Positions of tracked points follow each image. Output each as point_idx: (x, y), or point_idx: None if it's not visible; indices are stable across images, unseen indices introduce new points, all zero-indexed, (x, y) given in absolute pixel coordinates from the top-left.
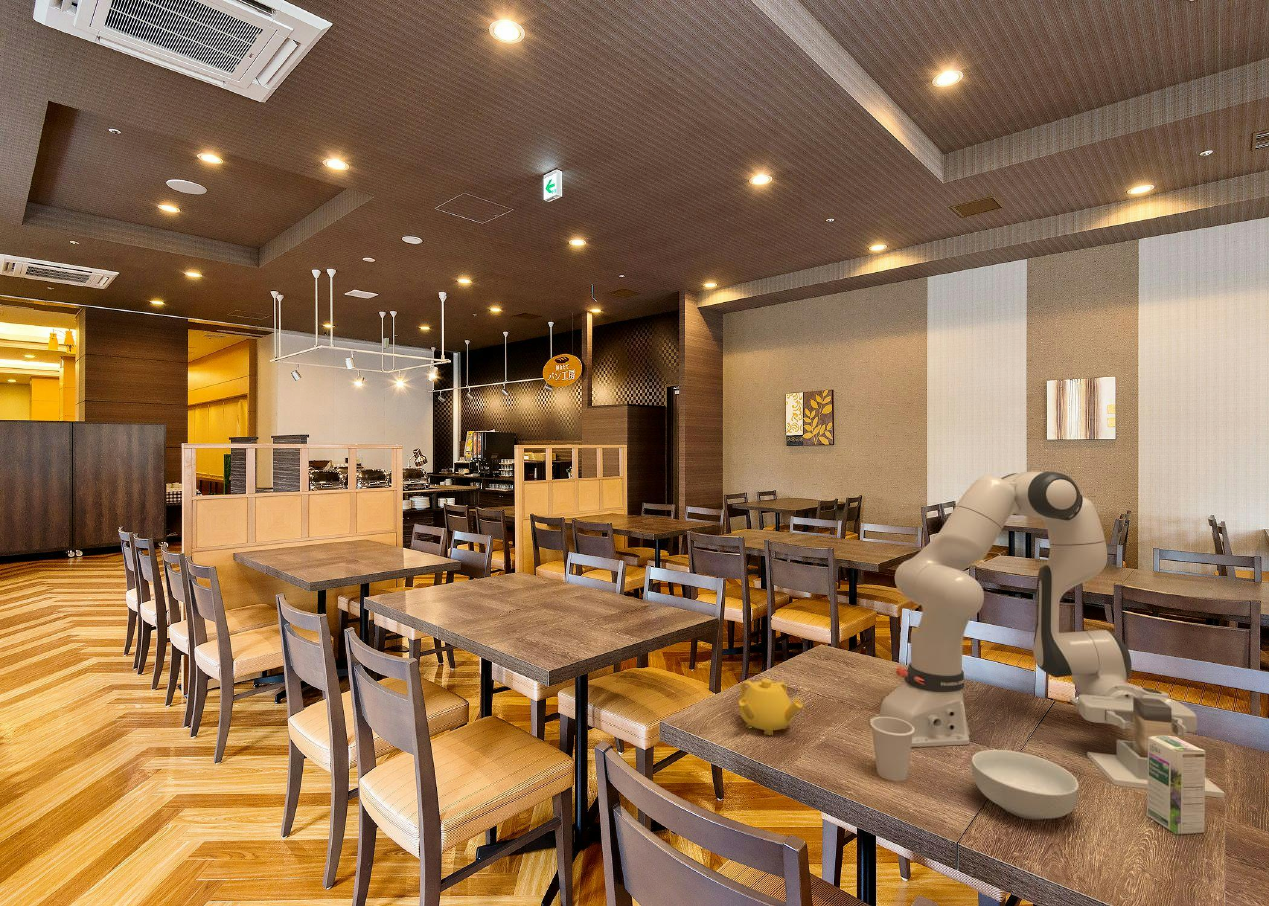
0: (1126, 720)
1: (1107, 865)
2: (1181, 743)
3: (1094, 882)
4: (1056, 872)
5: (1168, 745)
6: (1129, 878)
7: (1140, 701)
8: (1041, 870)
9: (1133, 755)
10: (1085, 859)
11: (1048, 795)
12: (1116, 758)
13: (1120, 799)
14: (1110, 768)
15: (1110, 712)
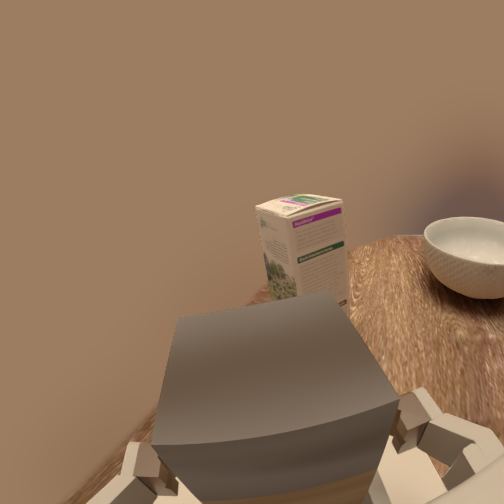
0: (407, 399)
1: (385, 257)
2: (288, 201)
3: (390, 243)
4: (413, 240)
5: (313, 195)
6: (368, 253)
7: (347, 328)
8: (421, 238)
9: None
10: (401, 255)
11: (438, 221)
12: None
13: (387, 369)
14: (412, 467)
15: (486, 445)
